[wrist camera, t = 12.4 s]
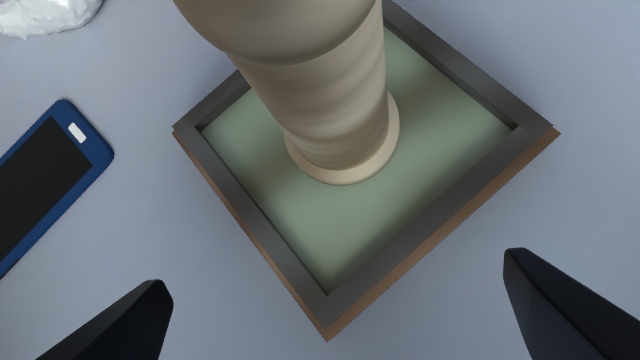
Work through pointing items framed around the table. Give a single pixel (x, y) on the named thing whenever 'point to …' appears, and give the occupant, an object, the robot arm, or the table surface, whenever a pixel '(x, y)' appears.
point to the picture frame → (376, 192)
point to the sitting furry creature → (44, 16)
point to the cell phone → (46, 177)
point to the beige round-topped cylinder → (312, 77)
